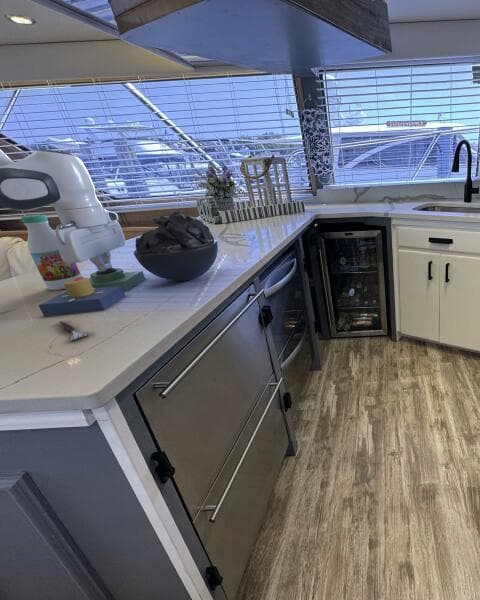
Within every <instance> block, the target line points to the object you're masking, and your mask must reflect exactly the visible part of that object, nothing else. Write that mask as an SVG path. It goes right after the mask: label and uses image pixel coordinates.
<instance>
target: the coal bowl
mask: <svg viewBox="0 0 480 600" xmlns="http://www.w3.org/2000/svg"><path fill="white" fill-rule="evenodd" d="M152 221H153V222H154V223H155V224H157V227H156V228H155V229H150V230H147V231H145V232H143V233H142V234H141V236H139V237H136V238H135V250H134V251H133V255H134V258H135V259H136V261H137V262H138V263H139V264H140V265H141V266H142V267H143V268H144V269H145V270H146V271H148V272H149V273H150V274H152V275H154V276H156V277H158V278H161V279H164V280H168V281H173V282H174V281H176V282H182V281H189V280H193V279H196V278H200V277H201V276H202V275H204V274H206V273H207V272H208V271H209V270H210V269H211V267H212V266H213V265H214V263H215V262H216V260H217V257H218V253H219V251H218V250H219V246H218V245H219V244H218V241H217V239H215V238H214V236H213V234H212V232H211V231H210V228H209V226H207V225H206V224H204V222H203V220H202V219H200V218H197V217H196V218H195V217H194V216H191V215H188V214H186V215H184V214H181V211H179V210H176V211H173V212H172V213H170V214H169V215H168V216H166V215H160V216H159V217H153V218H152Z"/></svg>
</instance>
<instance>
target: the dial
mask: <svg viewBox="0 0 480 600" xmlns="http://www.w3.org/2000/svg"><path fill="white" fill-rule="evenodd" d="M63 284H64V286H65V290H66V291H67V292H68V294H69V296H70V298H78V297H84V296H87V295H90V294H92V293H94V290H93V287H92V285H91V283H90V281H89V277H84V276H82V277H79V278H77V279H73V280H69V281H66V282H64V283H63Z"/></svg>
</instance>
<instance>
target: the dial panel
mask: <svg viewBox="0 0 480 600" xmlns="http://www.w3.org/2000/svg"><path fill="white" fill-rule="evenodd" d="M93 290H94V293H92V294H90V295H87V296H84V297H78V298H70V296H69V294H68V292H67V290H66V291H64V292H62V293H60V294H58V295H56V296H54V297H52V298H49V299H47V300H46V301H44V302H41V303H39V304H38V307H39V309H40V311H41V313H42V314H43V317H45V318H46V317H54V316H64V315H74V314H81V313H84V314H85V313H93V312H100V311H105V310H107V309H109V308H111V306H113V305H114V304H116V303H119V301H121V300H123V299H124V298H126V294H125V291H123V288H122V286H113V287H103V288H93Z"/></svg>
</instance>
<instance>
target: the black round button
mask: <svg viewBox="0 0 480 600" xmlns="http://www.w3.org/2000/svg"><path fill="white" fill-rule="evenodd" d="M115 268H116V267H112V268H111V269H109V270H106V271H102V272H100V271H98V270H96V271H95V272H97V275H103V274H109V273H113V272H116V270H115Z"/></svg>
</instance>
